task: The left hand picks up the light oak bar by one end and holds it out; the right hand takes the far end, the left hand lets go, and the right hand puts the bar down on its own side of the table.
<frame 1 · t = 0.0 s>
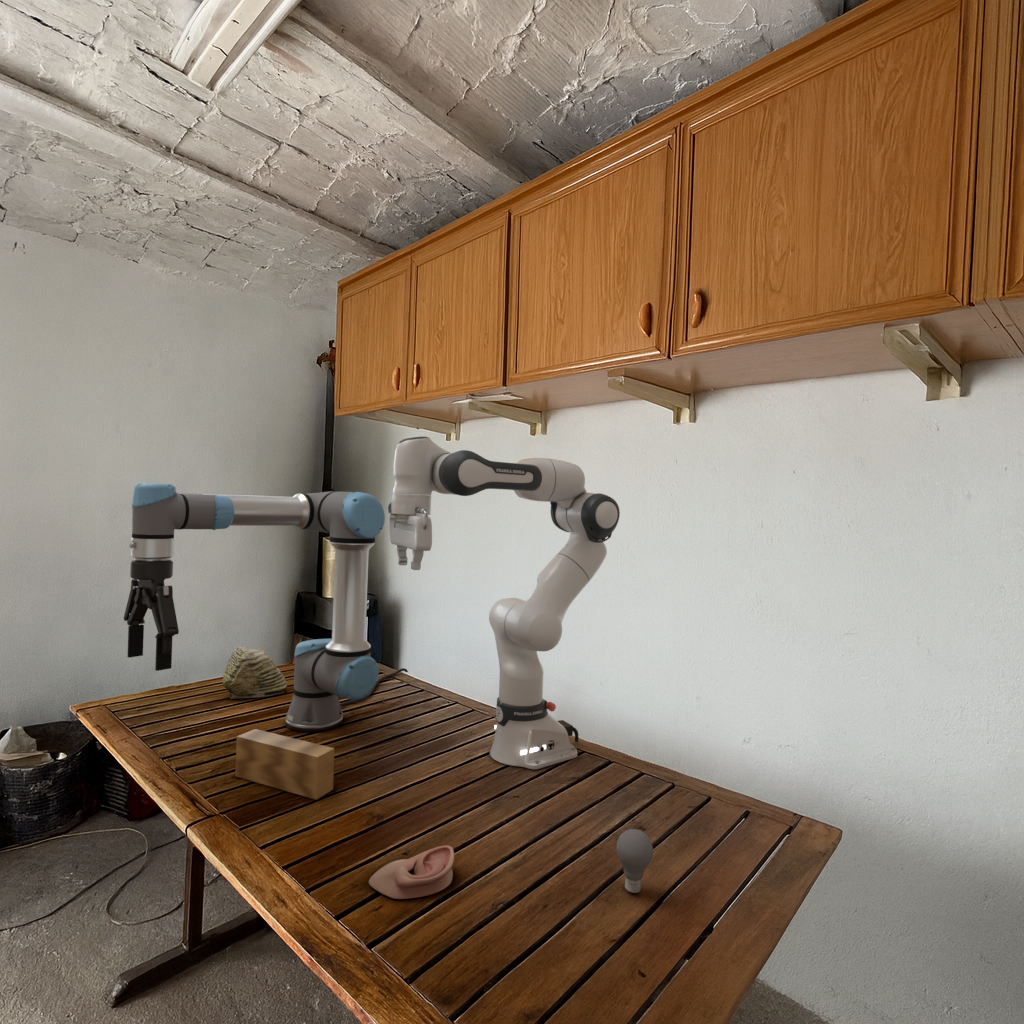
left hand: (148, 662, 129), 28 cm above the table, tool pointing down, fingers open, 13 cm apart
right hand: (408, 567, 145), 48 cm above the table, tool pointing down, fingers open, 8 cm apart
light bulb: (632, 891, 106), on the table
bar: (283, 782, 139), on the table
anatomical model: (412, 880, 106), on the table
fossil: (254, 694, 198), on the table
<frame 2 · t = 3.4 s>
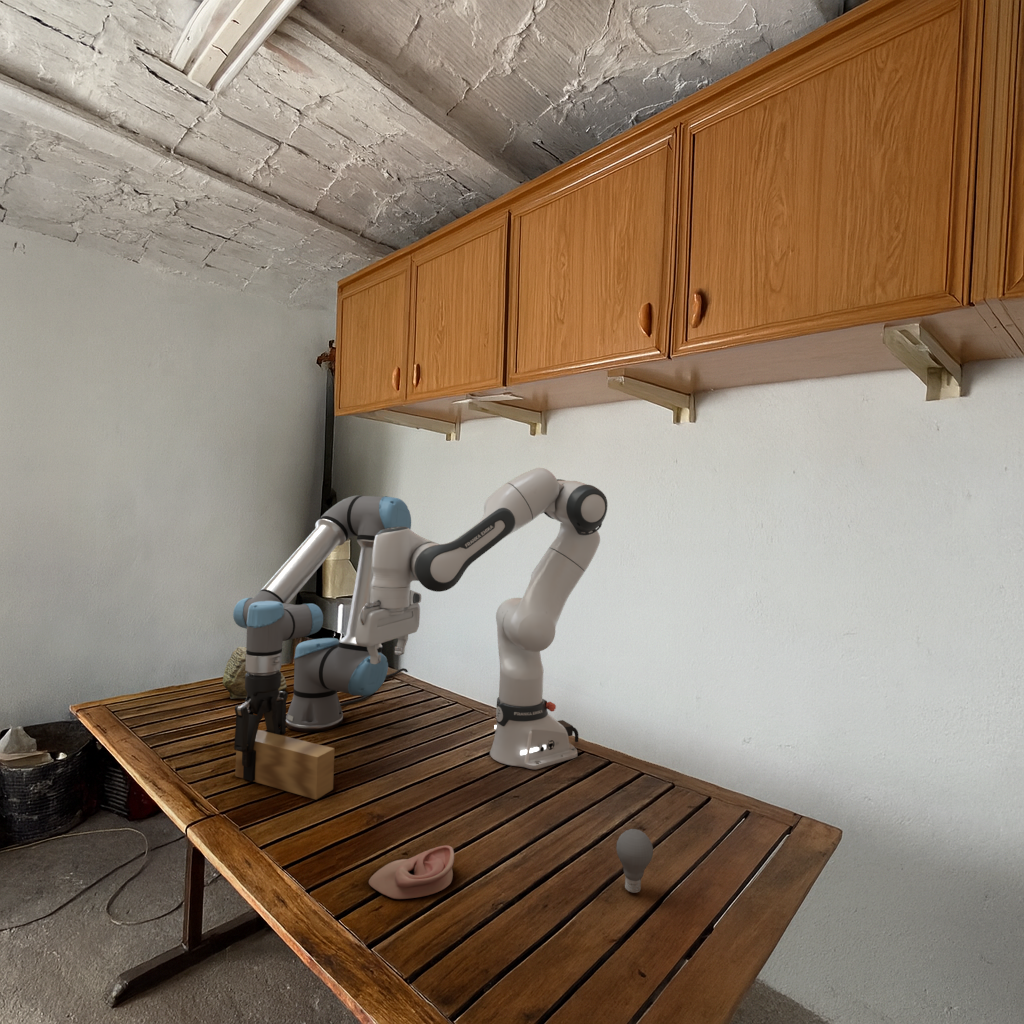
left hand: (259, 773, 142), 1 cm above the table, tool pointing down, fingers closed on bar, 5 cm apart
right hand: (387, 658, 144), 27 cm above the table, tool pointing down, fingers open, 8 cm apart
bar: (283, 782, 139), on the table, touching left hand
everything else where it was.
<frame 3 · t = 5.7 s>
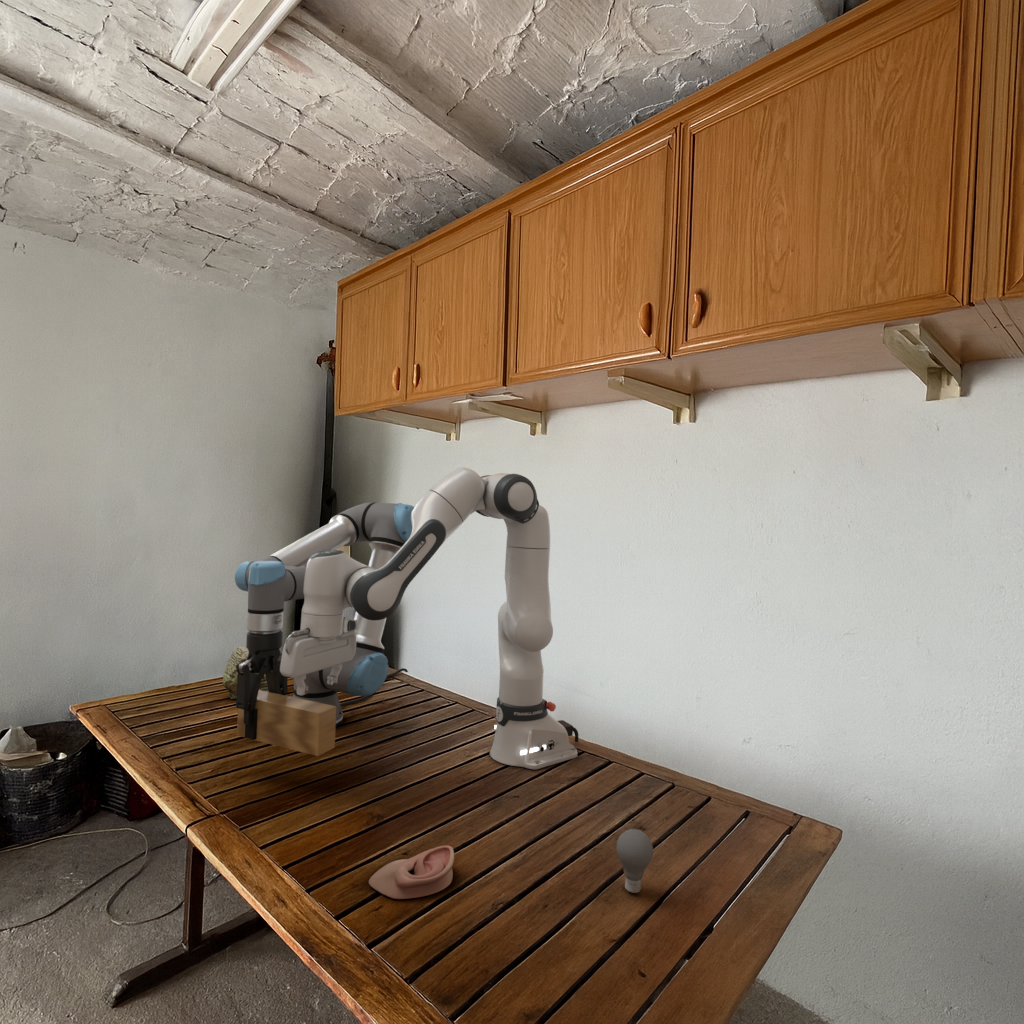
left hand: (261, 733, 142), 10 cm above the table, tool pointing down, fingers closed on bar, 5 cm apart
right hand: (317, 689, 137), 22 cm above the table, tool pointing down, fingers open, 8 cm apart
bar: (285, 741, 139), point 9 cm above the table, touching left hand
everything else where it was.
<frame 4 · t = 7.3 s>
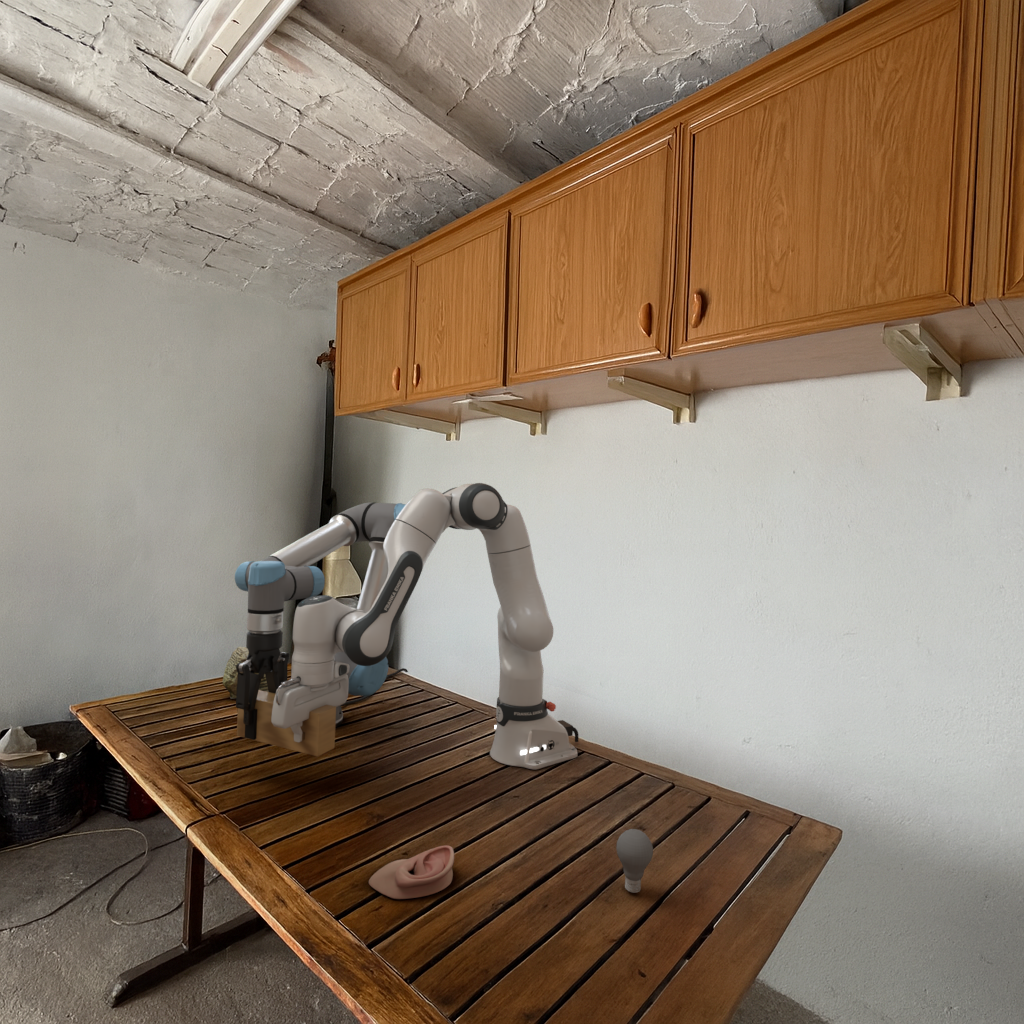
left hand: (261, 733, 142), 10 cm above the table, tool pointing down, fingers closed on bar, 5 cm apart
right hand: (310, 735, 136), 12 cm above the table, tool pointing down, fingers closed on bar, 5 cm apart
bar: (284, 741, 139), point 9 cm above the table, touching left hand, right hand
everything else where it was.
when the left hand's fingers open (10 cm above the table, at t = 8.2 s): bar stays where it is, held by the right hand.
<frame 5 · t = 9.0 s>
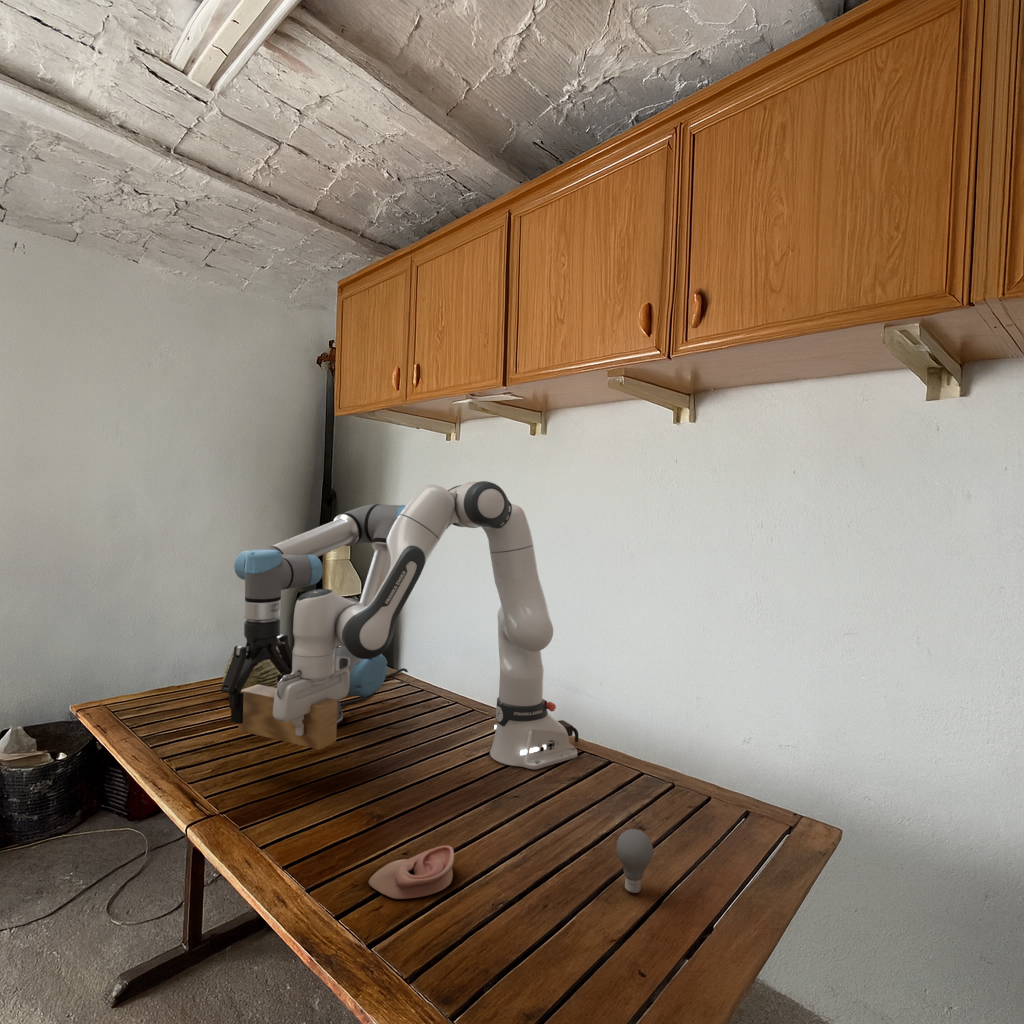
left hand: (260, 712, 143), 14 cm above the table, tool pointing down, fingers open, 13 cm apart
right hand: (312, 729, 136), 13 cm above the table, tool pointing down, fingers closed on bar, 5 cm apart
bar: (286, 735, 139), point 10 cm above the table, touching right hand
everything else where it was.
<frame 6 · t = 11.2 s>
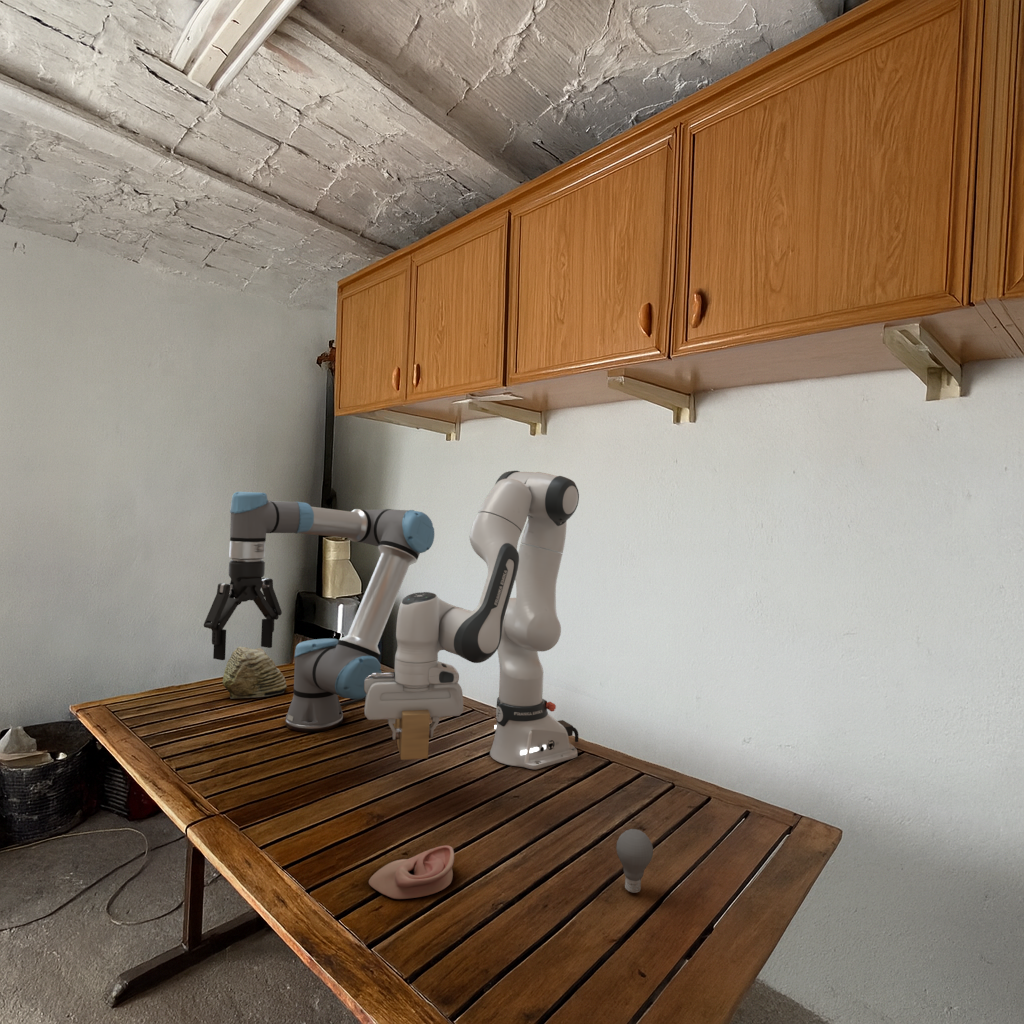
left hand: (243, 652, 144), 27 cm above the table, tool pointing down, fingers open, 13 cm apart
right hand: (412, 737, 131), 14 cm above the table, tool pointing down, fingers closed on bar, 5 cm apart
bar: (408, 738, 138), point 12 cm above the table, touching right hand
everything else where it was.
when the right hand's fingers open (4 cm above the table, at t = 12.8 s): bar drops 2 cm, on the table.
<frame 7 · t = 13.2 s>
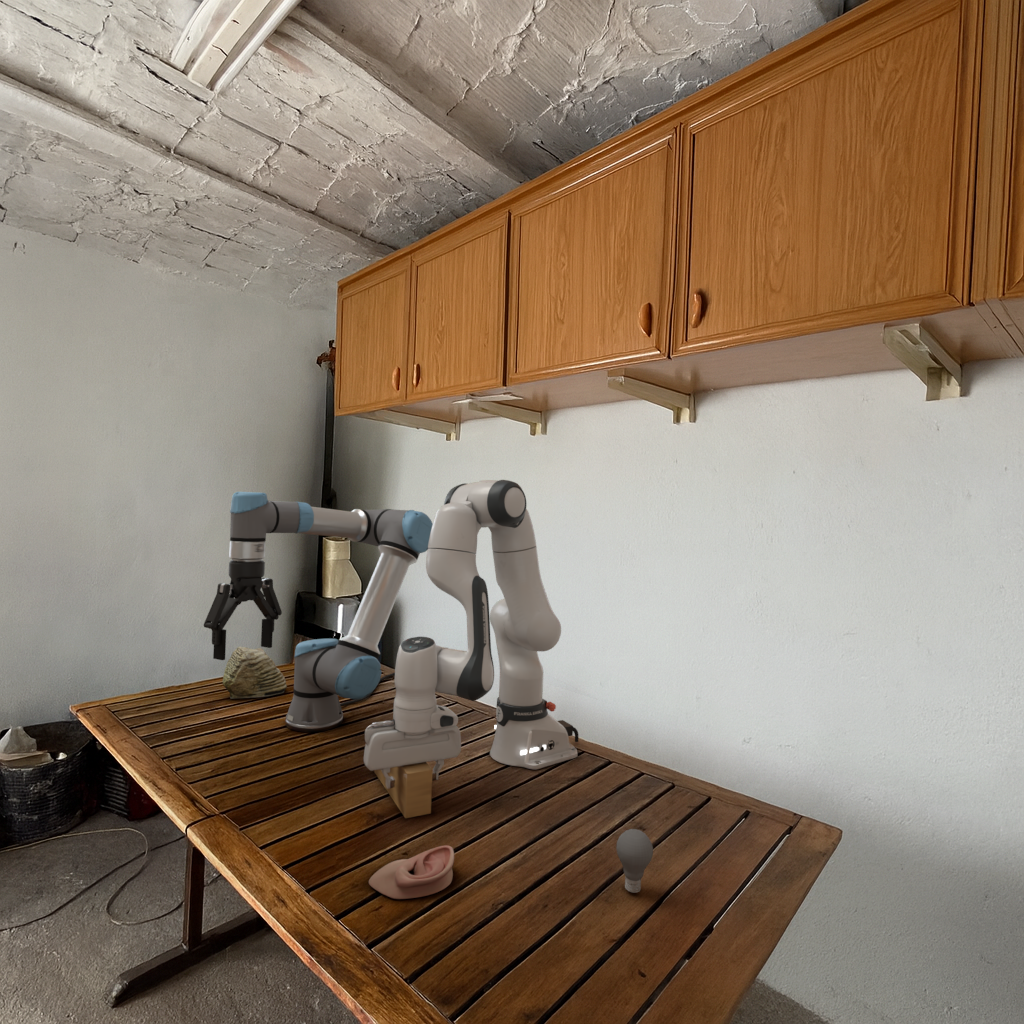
left hand: (243, 652, 144), 27 cm above the table, tool pointing down, fingers open, 13 cm apart
right hand: (412, 783, 132), 5 cm above the table, tool pointing down, fingers open, 8 cm apart
bar: (400, 791, 138), on the table
everything else where it was.
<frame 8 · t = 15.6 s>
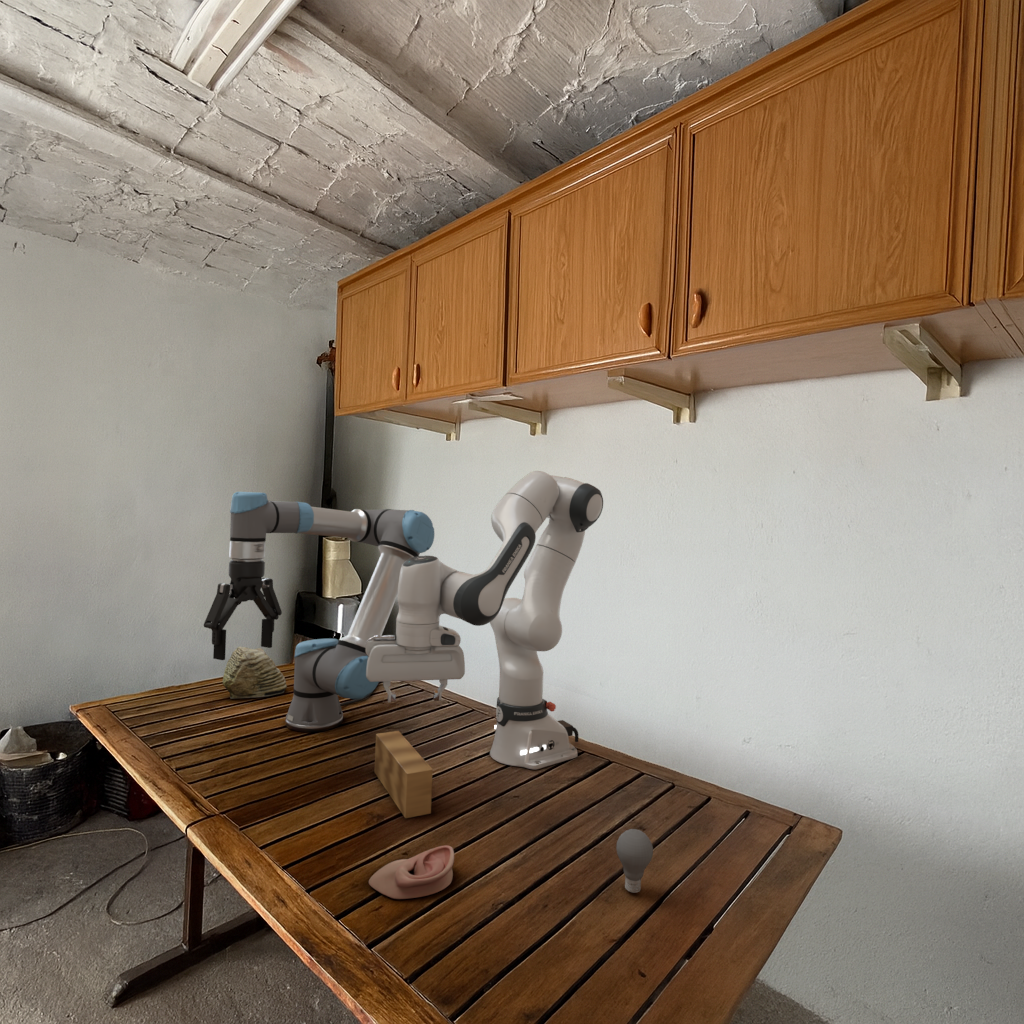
left hand: (243, 652, 144), 27 cm above the table, tool pointing down, fingers open, 13 cm apart
right hand: (414, 700, 131), 22 cm above the table, tool pointing down, fingers open, 8 cm apart
nothing on the table moved.
at the end: bar inside the target area (6.7 cm from its centre), on the table; the left hand is holding nothing; the right hand is holding nothing; bar at rest at the end (0.0 cm/s) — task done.
